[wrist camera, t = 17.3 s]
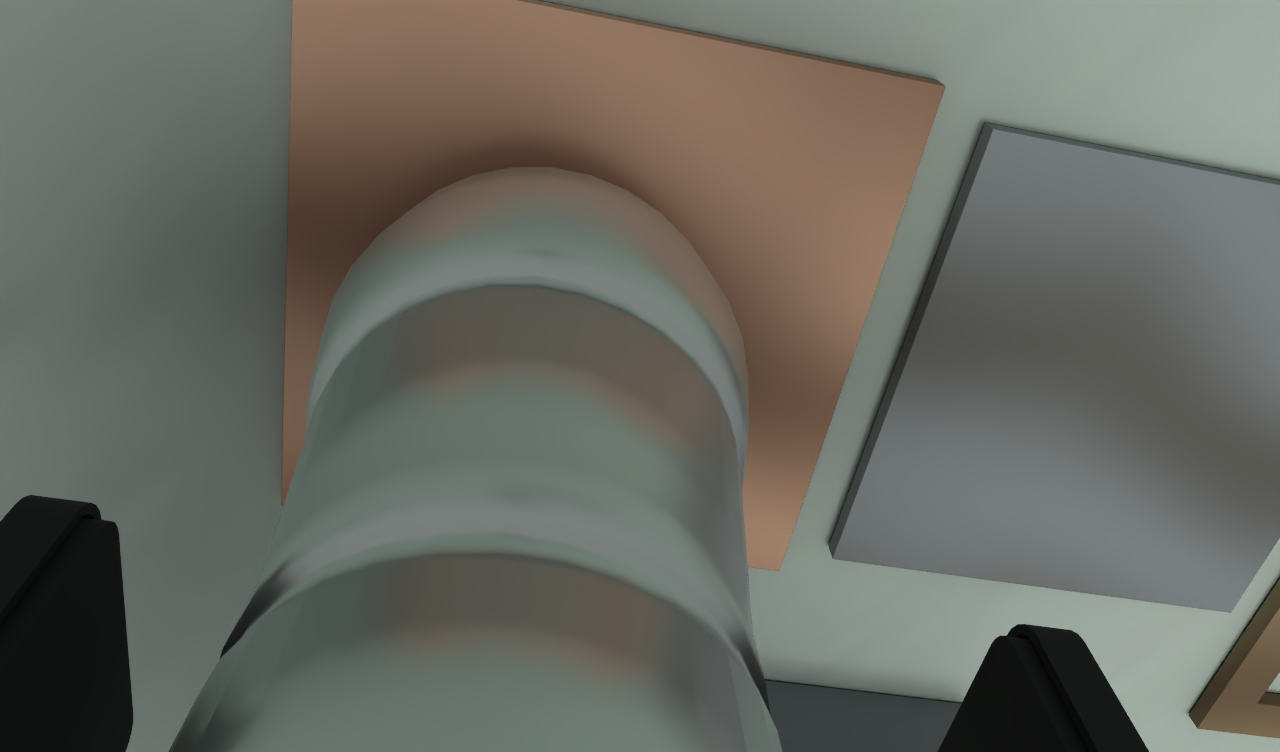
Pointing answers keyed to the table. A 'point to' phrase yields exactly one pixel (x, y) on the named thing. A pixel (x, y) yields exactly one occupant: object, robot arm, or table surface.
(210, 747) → the plastic bottle
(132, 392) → the table surface
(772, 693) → the grey hollow frame
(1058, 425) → the game track
